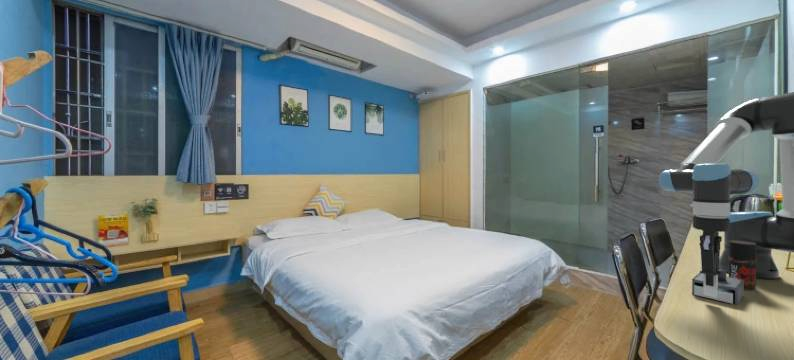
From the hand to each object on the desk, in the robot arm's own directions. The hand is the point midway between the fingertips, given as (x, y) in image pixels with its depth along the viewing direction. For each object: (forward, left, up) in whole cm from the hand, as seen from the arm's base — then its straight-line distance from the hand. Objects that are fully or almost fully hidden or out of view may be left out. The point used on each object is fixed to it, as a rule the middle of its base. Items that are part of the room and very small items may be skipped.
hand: (710, 295), depth 88 cm
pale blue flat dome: (-4, -8, -1) cm, 9 cm away
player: (-4, -10, -2) cm, 11 cm away
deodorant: (-13, -22, -3) cm, 26 cm away
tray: (-4, -9, -2) cm, 10 cm away
